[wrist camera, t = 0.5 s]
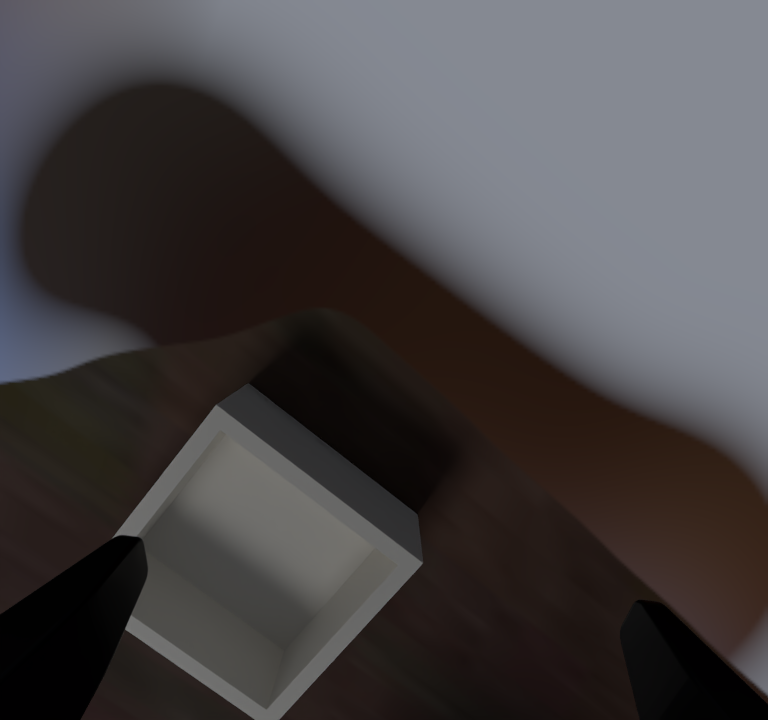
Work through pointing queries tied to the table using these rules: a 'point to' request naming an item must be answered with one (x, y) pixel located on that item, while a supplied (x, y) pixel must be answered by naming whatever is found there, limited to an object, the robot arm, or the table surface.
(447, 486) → the table surface
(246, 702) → the cream crate
